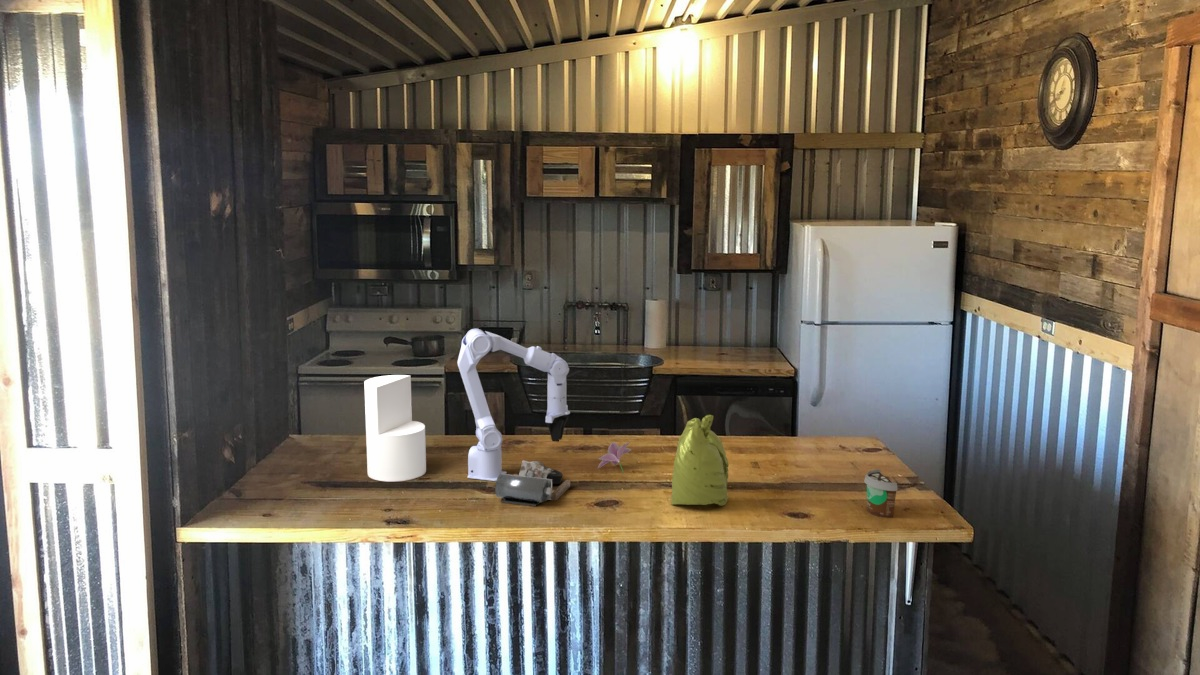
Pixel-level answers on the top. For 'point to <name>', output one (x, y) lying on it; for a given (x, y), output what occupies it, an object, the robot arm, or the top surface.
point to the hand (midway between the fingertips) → (556, 440)
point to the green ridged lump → (700, 466)
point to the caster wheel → (540, 471)
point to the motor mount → (527, 489)
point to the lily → (614, 454)
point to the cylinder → (393, 430)
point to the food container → (880, 494)
